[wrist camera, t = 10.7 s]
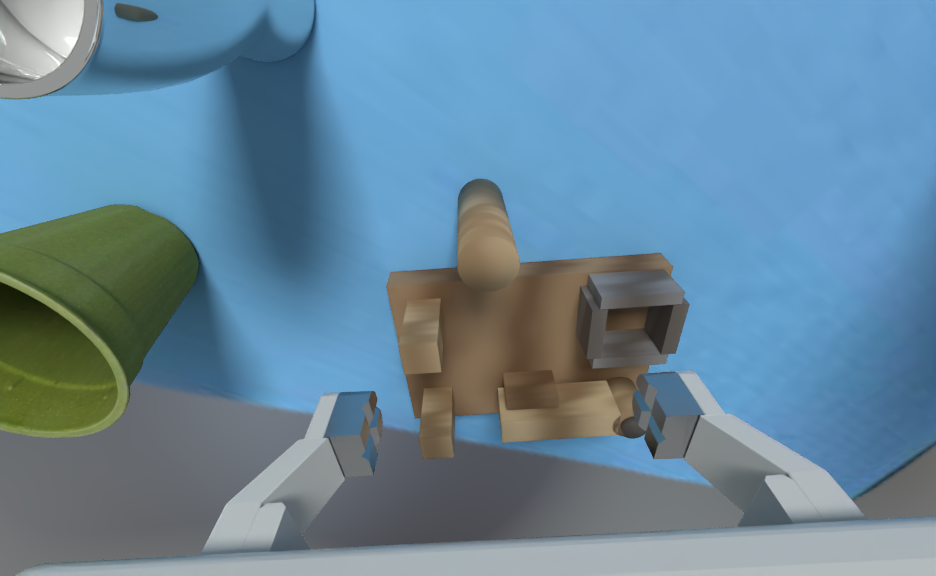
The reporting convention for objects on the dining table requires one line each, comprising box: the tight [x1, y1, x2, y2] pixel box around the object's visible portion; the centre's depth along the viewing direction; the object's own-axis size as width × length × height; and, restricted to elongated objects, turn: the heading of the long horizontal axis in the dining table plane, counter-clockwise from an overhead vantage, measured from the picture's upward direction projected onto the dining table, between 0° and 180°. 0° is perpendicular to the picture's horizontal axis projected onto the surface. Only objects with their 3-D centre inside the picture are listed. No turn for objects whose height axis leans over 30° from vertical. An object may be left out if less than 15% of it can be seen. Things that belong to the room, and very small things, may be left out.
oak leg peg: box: [457, 179, 520, 292], centre depth 22 cm, size 3×3×9 cm
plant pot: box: [0, 205, 199, 438], centre depth 23 cm, size 12×12×11 cm
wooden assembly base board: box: [386, 253, 689, 459], centre depth 30 cm, size 20×14×7 cm
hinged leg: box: [498, 377, 646, 443], centre depth 31 cm, size 12×3×4 cm, turn 95°
